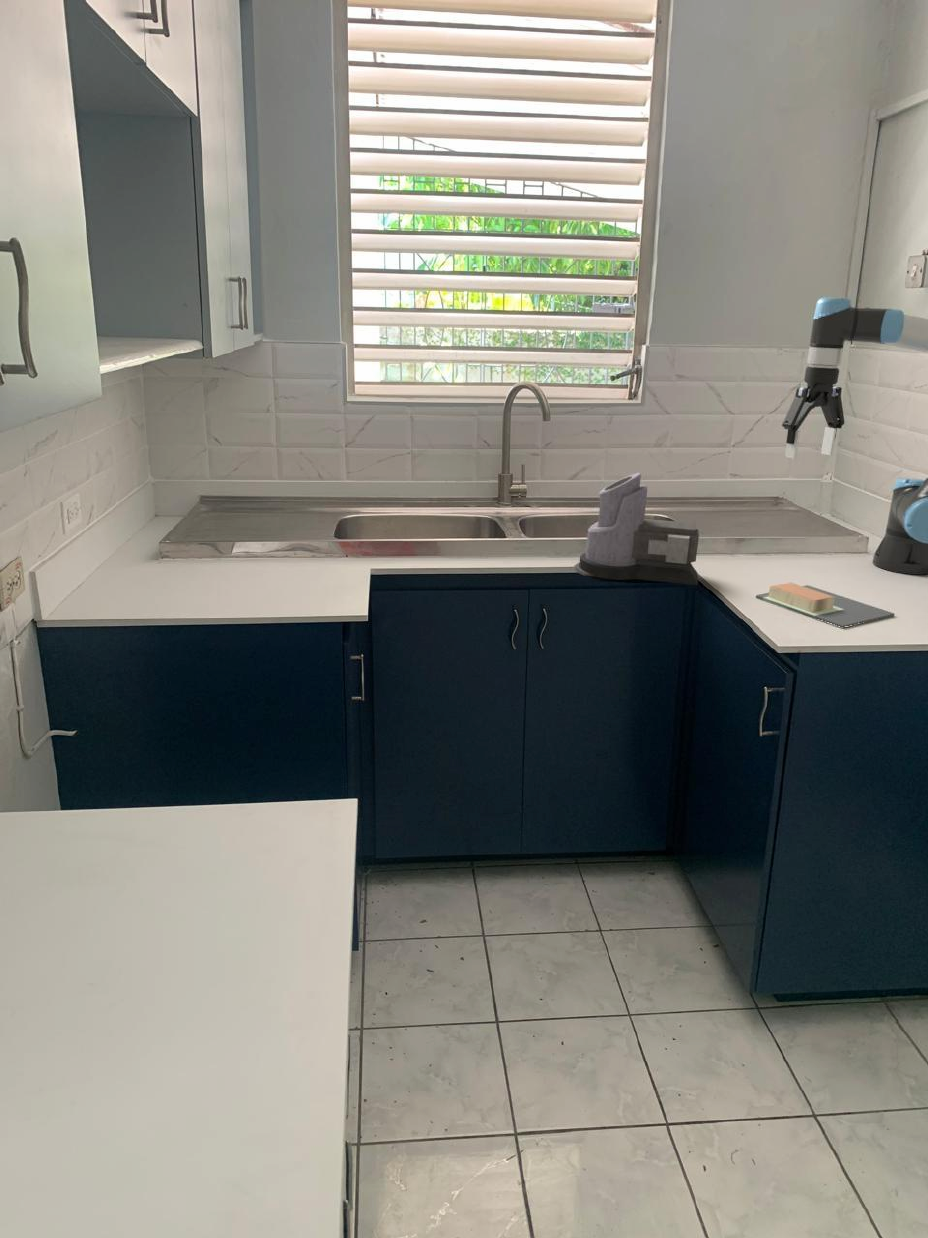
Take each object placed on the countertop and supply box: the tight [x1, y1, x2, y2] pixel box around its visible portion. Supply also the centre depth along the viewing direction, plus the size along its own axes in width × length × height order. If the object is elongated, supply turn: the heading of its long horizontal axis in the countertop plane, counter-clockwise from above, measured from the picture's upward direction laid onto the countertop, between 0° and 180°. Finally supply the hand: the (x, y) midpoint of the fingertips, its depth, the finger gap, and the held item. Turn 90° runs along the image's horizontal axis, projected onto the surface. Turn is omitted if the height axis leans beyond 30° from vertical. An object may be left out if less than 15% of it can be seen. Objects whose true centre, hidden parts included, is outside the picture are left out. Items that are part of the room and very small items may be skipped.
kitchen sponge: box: [768, 582, 835, 613], centre depth 208 cm, size 7×3×12 cm
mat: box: [755, 584, 895, 627], centre depth 208 cm, size 18×23×1 cm
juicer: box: [573, 472, 700, 586], centre depth 225 cm, size 30×16×24 cm, turn 78°
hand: (808, 456), depth 228 cm, fingers open, 13 cm apart
